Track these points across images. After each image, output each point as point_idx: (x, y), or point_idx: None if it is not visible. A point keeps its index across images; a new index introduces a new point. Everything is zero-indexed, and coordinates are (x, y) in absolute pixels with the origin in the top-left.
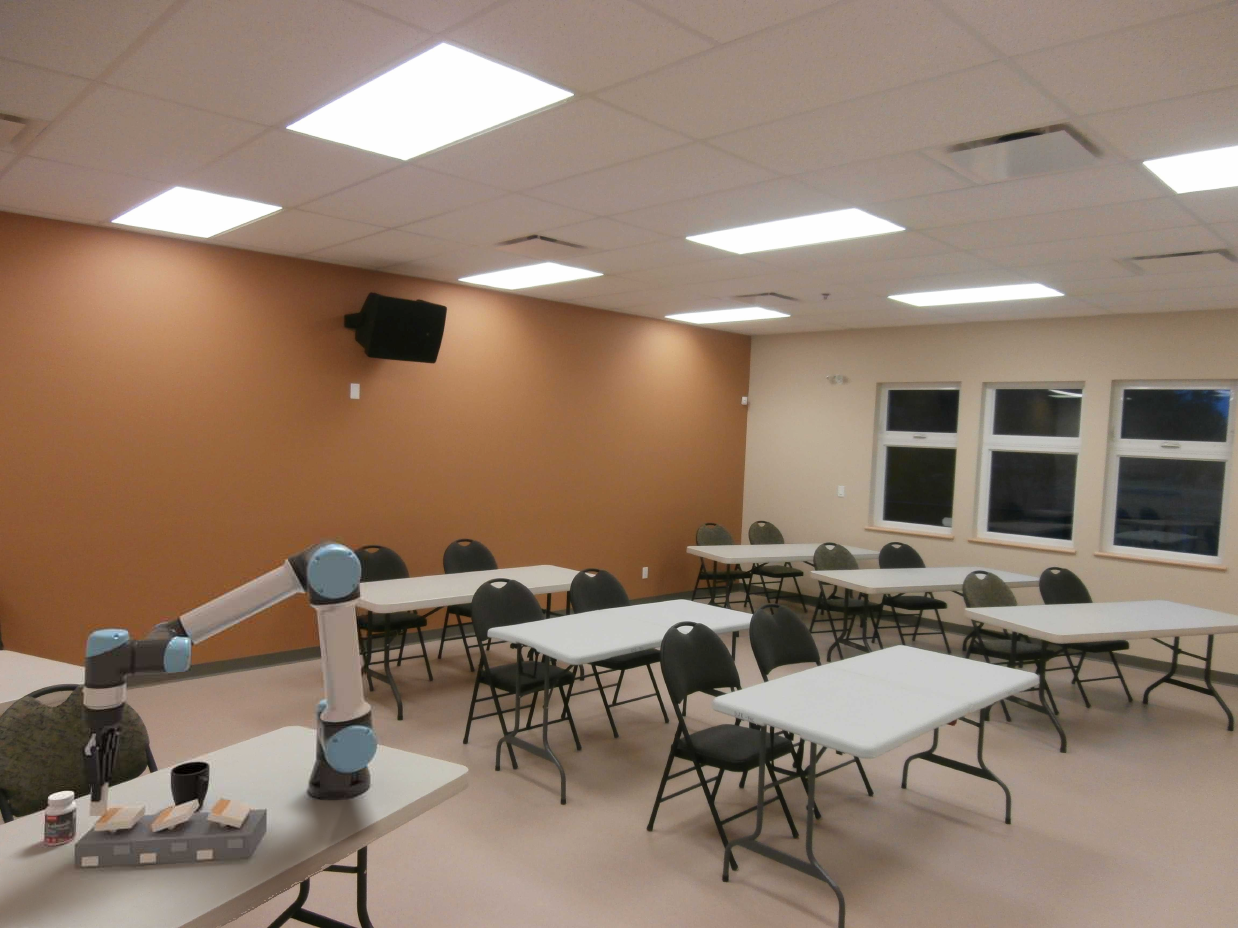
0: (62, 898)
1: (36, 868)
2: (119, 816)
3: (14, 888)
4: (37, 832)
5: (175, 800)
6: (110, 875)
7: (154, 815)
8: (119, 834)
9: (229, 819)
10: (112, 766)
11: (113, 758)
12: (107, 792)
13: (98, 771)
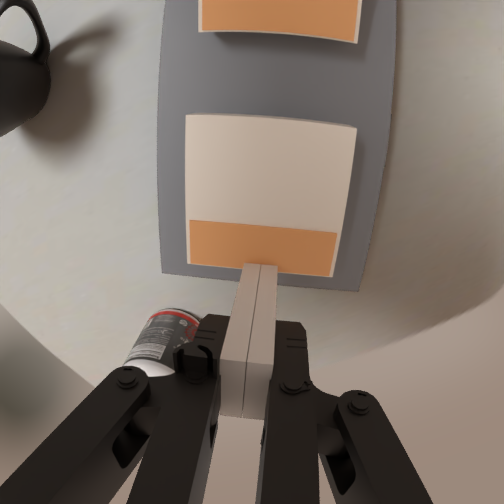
0: (477, 231)
1: (316, 333)
2: (288, 195)
3: (394, 337)
4: None
5: (27, 112)
6: (412, 150)
7: (166, 92)
8: None
9: None
10: (121, 415)
11: (86, 461)
12: (237, 317)
13: (401, 491)
